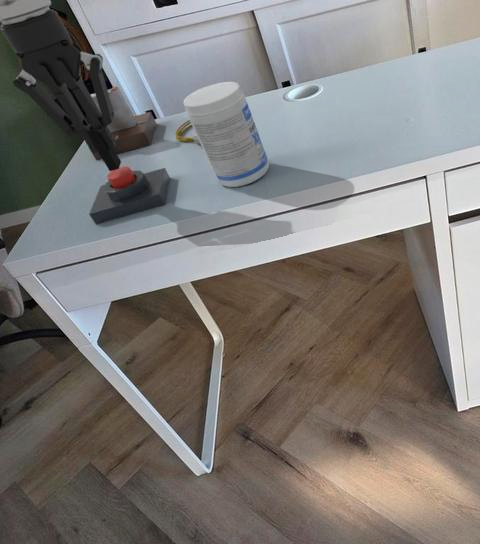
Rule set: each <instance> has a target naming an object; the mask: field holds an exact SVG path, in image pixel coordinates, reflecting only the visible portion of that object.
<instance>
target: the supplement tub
mask: <svg viewBox="0 0 480 544" xmlns="http://www.w3.org/2000/svg"><path fill="white" fill-rule="evenodd" d="M182 104H183V106H184V108H185V112H186V115H187V118H188V119H189V120H190V122H191V124H190V125H192V126H191V127H192V128H193V130H194V133H195V135H196V136H197V137H198V139H199V141H200V144H201V145H200V144H199V145H200V146H201V149H202V150H203V152H204V154H205V157H206V159H207V161H208V163H209V166H210V167H211V170H212V172H213V174H214V177H215V179H216V181H217V182H218V183H219V184H220V185H222V186H224V187H228V188H238V187H243V186H246V185H249V184H251V183H254V182H256V181H258V180H259V179H260V178H261V179H262V177H263V176H265V174H266V173H267V172H268V171H269V167H270V162H269V159H268V155H267V152H266V150H265V147H264V145H263V142H262V140H261V137H260V134H259V132H258V128H257V126H256V122H255V120H254V118H253V115H252V112H251V110H250V106H249V104H248V101H247V99H246V96H245V93H244V92H243V90H242V87H241V85H240V84H239V83H238V82H235V81H223V82H218V83H213V84H209V85H207V86H204V87H201V88H199V89H197V90H195V91H193V92H192V93H190V94H189V95H187V96H186V97H185V98H184V100H183V103H182ZM189 120H188V121H189Z"/></svg>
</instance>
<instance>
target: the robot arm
mask: <svg viewBox="0 0 480 544" xmlns="http://www.w3.org/2000/svg"><path fill="white" fill-rule="evenodd" d="M51 5H52V1H51V0H0V22H1V25H0V31H1V33H2V34H3V36H4V37H5V39H6V41H7V42H8V44H9V45H10V47H11V48H12V50H13V52H14V53H15V54H16V55H17V57H18V60H19V66H20V68H21V71H20V73H19V74H18V76H17V77H16V78H14V80H13V81H12V84H13V86H14V87H15V88H17V89H18V90H20V91H22V92H23V93H25V94H27V95H28V96H29V97H30V98H31V99H32V100H33V101H34V103H36V104H37V105H38V106H39V107H40V108H41V110H43V112H44V113H46V115H47V116H48V117H49V118H50V119H51V120H52V121H53V122H54V123H55V124H56V125H57V127H58V128H60V129H61V131H63V132H64V133H65V135H67V136H72V135H79V136H81V137H82V139H83V141H84V142H85V143H86V145H87V147H88V149H89V148H90V149H89V151H90V150H91V151H92V152H93V153H96V152H98V153H99V154H100V156H101V159H102V161H103V163H104V164H105V166H106V167H107V169H108V171H109V172H112V171H113V170H117V169H119V168H120V166H121V164H122V160H121V159H120V157H119V154H116V152H115V150H114V147H115V145H116V142H115V139H114V138H113V136H112V134H111V132H110V130H109V129H108V127H107V125H109V124H111V122H112V121H113V118H114V112H113V108H112V105H111V101H110V98H109V94H108V91H107V90H108V87H107V84H106V79H105V77H104V73H103V60H104V58H103V56H102V55H101V54H100V53H95V54H92V53H88V52H85V51H82V49H81V48H80V46H79V45H77V44H76V43H75V42H74V41H73V39H72V38H71V35H70V34H69V32H68V30H67V28H66V27H65V24H64V23H63V20H62V19H61V17H60V16H59V14H58V12H57V10H54V9H51V8H50V6H51ZM82 63H83V65H84V67H85V69H86V70H88V71H89V77H90V80H91V83H92V84H91V85H92V87H93V90H94V93H95V94H96V97H97V101H98V104H99V108H100V111H101V113H100V111H99V109H98V107H97V106H96V104H95V102H94V100H93V99H92V97H91V94H90V91H89V90H88V88H87V87H86V84H85V83H84V79H83V77H82V76H81V70H82ZM37 80H38V81H40V82H42V83H44V84H45V85H46V86H47V87H48V88H49V90H50V91H51V94H52V95H54V96H55V97H56V99H57V101H58V102H59V104H60V105H61V106H60V105H59V104H58V103H57V102H56V100H54V99H53V98H52V97H51V96H50V95H49V94H48V92H47V91H46V90H45V89H44V88H43V86H41V85H40V84H39V83H37ZM70 90H71V92H72V93H73V94H74V96H75V98H76V99H77V101H78V103H79V105H80V106H81V108H82V110H83V111H84V113H85V114H86V116H87V118H88V120H89V121H90V123H89V122H88V120H87V118H86V116H85V115H84V114H83V112H82V110H81V109H80V107H79V105H78V104H77V101H76V99H74V97H73V95H72V94H71V92H70ZM61 107H62V108H61ZM91 127H93V128H91ZM91 151H90V152H91ZM92 152H91V153H92Z"/></svg>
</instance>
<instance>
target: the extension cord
mask: <svg viewBox="0 0 480 544" xmlns="http://www.w3.org/2000/svg"><path fill="white" fill-rule="evenodd" d="M191 127H193V126H192V124H191V122H190V120H187V121H185V122H183V123H182V124H181V125H180V126H179V127H178V128H177V129H176V131H175V139H176V140H177V141H179V142H184V143H193V142H194V143H196V144H199V145H200V146H201V144H200V141H199V139H198V137H197V135H196V136H195V135H194V136H193V137H186V136H181V135H182V134H183V133H184V132H185V131H187V130H188V129H190V128H191Z"/></svg>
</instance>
